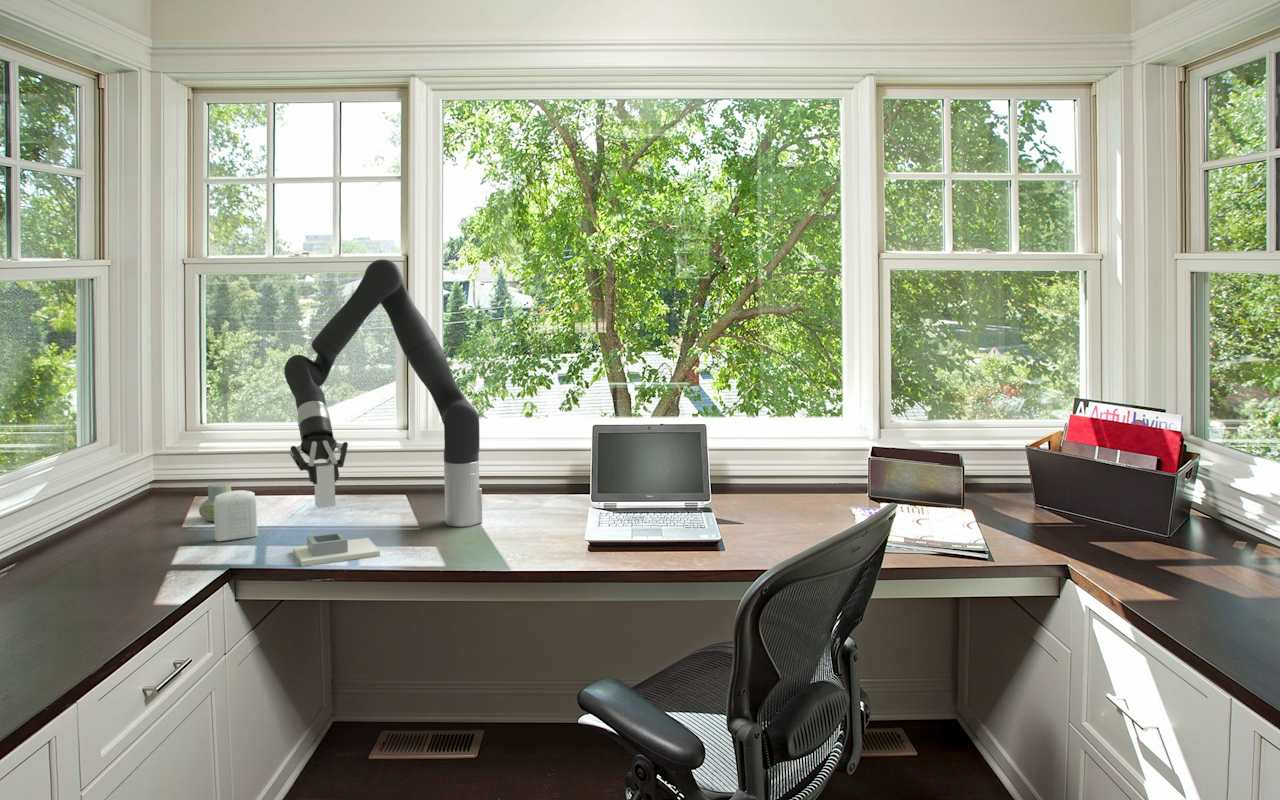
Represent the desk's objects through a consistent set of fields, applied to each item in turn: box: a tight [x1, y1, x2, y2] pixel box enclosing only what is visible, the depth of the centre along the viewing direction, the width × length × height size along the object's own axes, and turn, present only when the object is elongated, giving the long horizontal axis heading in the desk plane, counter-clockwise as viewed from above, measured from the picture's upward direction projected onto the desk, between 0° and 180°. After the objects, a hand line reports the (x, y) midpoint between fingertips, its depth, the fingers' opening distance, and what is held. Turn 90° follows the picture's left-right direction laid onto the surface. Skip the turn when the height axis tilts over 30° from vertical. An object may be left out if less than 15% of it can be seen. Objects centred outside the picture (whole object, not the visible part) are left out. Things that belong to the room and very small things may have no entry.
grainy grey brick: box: [313, 461, 336, 509], centre depth 231 cm, size 4×4×10 cm
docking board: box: [292, 531, 381, 567], centre depth 234 cm, size 18×13×4 cm
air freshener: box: [198, 481, 232, 523], centre depth 266 cm, size 11×8×10 cm
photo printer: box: [213, 489, 259, 542], centre depth 247 cm, size 10×4×12 cm, turn 123°
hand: (325, 481), depth 230 cm, fingers closed on grainy grey brick, 4 cm apart
